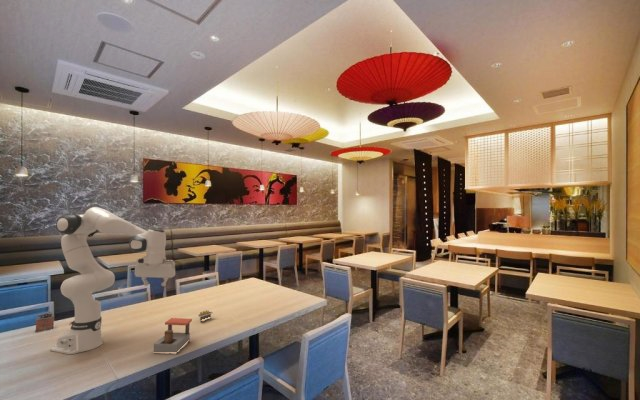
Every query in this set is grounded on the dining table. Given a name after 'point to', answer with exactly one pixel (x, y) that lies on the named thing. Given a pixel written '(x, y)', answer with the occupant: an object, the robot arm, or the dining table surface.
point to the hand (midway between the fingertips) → (154, 285)
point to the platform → (204, 314)
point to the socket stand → (174, 336)
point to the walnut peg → (168, 337)
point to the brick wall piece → (44, 322)
